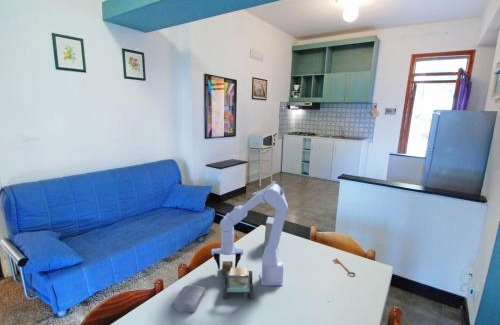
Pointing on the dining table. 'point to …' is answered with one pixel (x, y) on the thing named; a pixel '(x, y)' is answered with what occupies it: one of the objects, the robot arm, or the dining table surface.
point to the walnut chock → (226, 267)
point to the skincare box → (268, 230)
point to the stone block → (189, 298)
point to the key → (343, 266)
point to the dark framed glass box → (238, 281)
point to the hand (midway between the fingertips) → (227, 268)
